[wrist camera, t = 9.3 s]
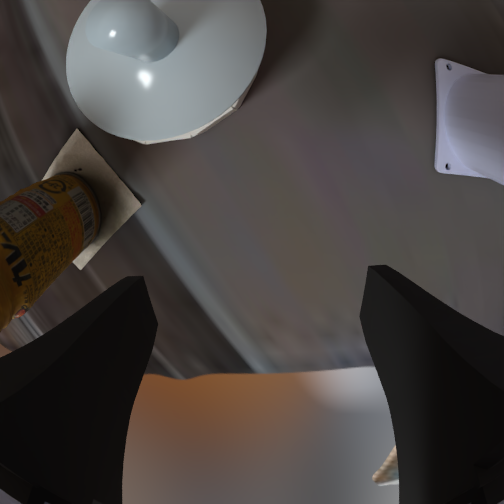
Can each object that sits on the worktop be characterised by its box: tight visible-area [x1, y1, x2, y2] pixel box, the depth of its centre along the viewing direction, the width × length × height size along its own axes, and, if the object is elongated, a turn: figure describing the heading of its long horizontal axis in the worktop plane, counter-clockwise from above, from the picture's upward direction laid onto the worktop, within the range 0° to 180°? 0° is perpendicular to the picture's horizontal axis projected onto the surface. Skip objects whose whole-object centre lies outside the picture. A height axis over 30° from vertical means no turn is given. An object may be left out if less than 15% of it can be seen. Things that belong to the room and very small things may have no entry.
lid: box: [66, 0, 267, 141], centre depth 8 cm, size 10×10×5 cm
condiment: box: [0, 129, 142, 332], centre depth 13 cm, size 7×8×12 cm
